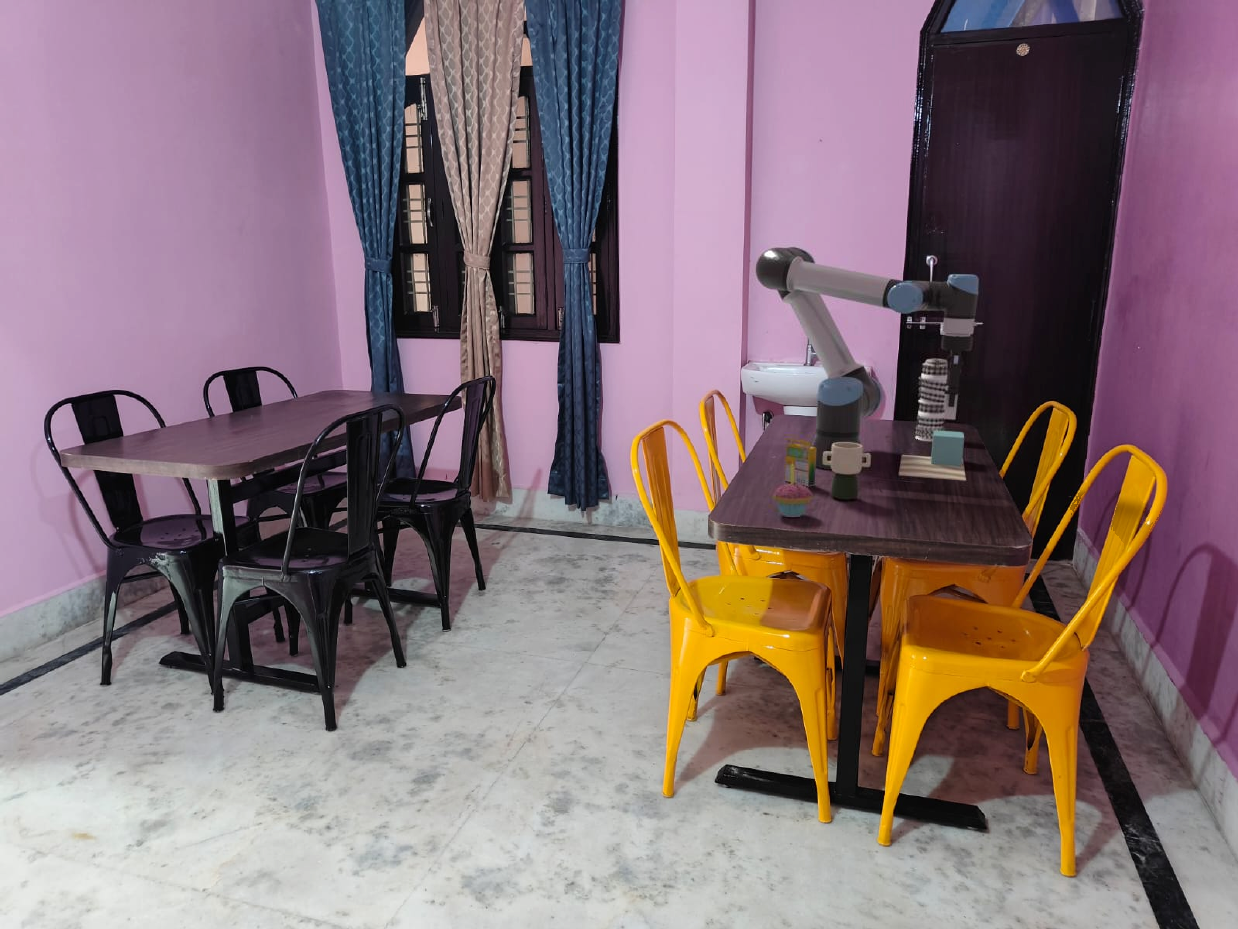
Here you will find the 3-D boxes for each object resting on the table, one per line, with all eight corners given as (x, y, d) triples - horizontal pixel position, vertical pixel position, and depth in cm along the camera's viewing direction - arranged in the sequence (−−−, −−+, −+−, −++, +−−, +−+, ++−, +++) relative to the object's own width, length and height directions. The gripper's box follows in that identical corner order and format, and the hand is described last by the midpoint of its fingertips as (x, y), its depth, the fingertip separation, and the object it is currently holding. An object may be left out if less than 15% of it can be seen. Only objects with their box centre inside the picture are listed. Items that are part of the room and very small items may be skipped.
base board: (965, 486, 211) (965, 480, 211) (898, 480, 216) (898, 475, 216) (962, 464, 233) (962, 459, 232) (901, 460, 238) (901, 454, 238)
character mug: (867, 495, 203) (870, 442, 200) (868, 503, 196) (872, 449, 193) (820, 493, 205) (823, 440, 202) (820, 501, 199) (823, 447, 195)
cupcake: (768, 510, 192) (770, 458, 189) (805, 509, 192) (808, 458, 189) (778, 521, 183) (780, 468, 180) (816, 520, 184) (819, 467, 181)
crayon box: (815, 485, 212) (817, 440, 209) (807, 487, 210) (810, 442, 207) (791, 479, 217) (793, 435, 215) (784, 481, 215) (786, 437, 213)
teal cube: (961, 466, 225) (964, 437, 223) (931, 464, 227) (933, 435, 225) (960, 460, 232) (963, 432, 230) (931, 457, 234) (933, 430, 232)
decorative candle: (913, 435, 271) (920, 357, 265) (944, 437, 268) (952, 358, 262) (913, 440, 263) (920, 360, 257) (945, 442, 260) (952, 361, 254)
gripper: (975, 339, 209) (965, 424, 214) (971, 331, 231) (962, 407, 237) (942, 338, 211) (934, 421, 216) (942, 330, 234) (934, 405, 239)
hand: (949, 414), depth 226 cm, fingers open, 13 cm apart
